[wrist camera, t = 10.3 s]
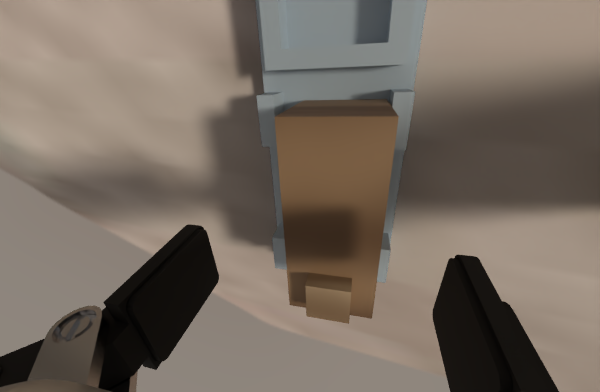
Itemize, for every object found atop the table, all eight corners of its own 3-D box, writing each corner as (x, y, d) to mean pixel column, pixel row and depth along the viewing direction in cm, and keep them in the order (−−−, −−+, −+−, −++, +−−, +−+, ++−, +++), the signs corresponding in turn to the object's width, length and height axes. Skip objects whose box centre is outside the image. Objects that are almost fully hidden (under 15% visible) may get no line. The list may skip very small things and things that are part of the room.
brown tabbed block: (303, 100, 16) (266, 121, 10) (386, 99, 15) (402, 121, 9) (308, 246, 21) (285, 318, 15) (369, 252, 20) (372, 334, 14)
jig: (253, -90, 13) (226, -129, 11) (442, -126, 11) (465, -185, 9) (283, 251, 23) (273, 274, 21) (385, 263, 21) (387, 290, 19)
